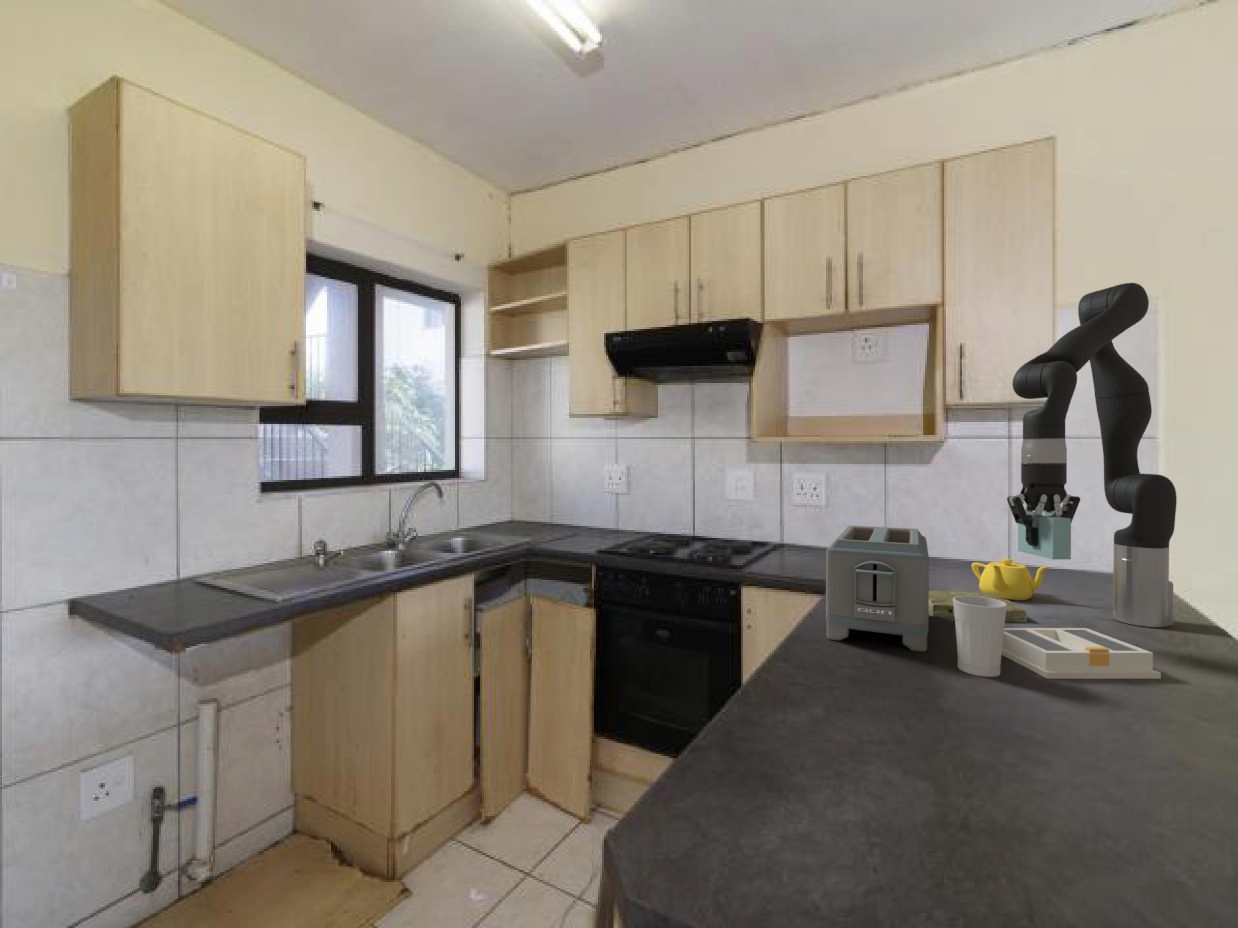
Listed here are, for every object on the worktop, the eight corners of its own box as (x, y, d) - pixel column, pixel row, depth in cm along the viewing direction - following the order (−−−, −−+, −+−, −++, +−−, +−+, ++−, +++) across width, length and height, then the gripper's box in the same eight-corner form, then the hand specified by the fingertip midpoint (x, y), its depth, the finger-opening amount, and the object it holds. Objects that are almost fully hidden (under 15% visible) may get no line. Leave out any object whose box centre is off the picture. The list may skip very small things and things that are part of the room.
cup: (998, 664, 104) (999, 597, 103) (1012, 681, 96) (1013, 608, 96) (948, 659, 106) (948, 594, 106) (957, 675, 99) (958, 604, 99)
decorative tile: (907, 600, 151) (907, 587, 151) (992, 604, 148) (992, 590, 148) (933, 620, 133) (933, 605, 133) (1030, 625, 129) (1030, 609, 129)
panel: (1034, 550, 124) (1034, 513, 123) (1070, 559, 114) (1071, 518, 113) (1017, 550, 124) (1018, 513, 123) (1052, 559, 114) (1053, 518, 113)
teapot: (994, 602, 148) (994, 563, 148) (967, 590, 161) (967, 554, 161) (1051, 603, 147) (1051, 564, 146) (1019, 591, 160) (1019, 555, 160)
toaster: (822, 645, 115) (822, 542, 114) (841, 606, 144) (841, 524, 144) (928, 660, 106) (929, 549, 106) (925, 615, 136) (926, 528, 136)
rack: (1084, 646, 113) (1084, 623, 113) (1160, 678, 97) (1161, 651, 97) (986, 646, 113) (986, 623, 113) (1047, 678, 97) (1047, 651, 97)
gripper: (1064, 461, 122) (1063, 542, 122) (996, 461, 122) (996, 542, 122) (1093, 461, 115) (1092, 548, 115) (1021, 461, 115) (1021, 548, 115)
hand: (1042, 545), depth 119 cm, fingers closed on panel, 3 cm apart
